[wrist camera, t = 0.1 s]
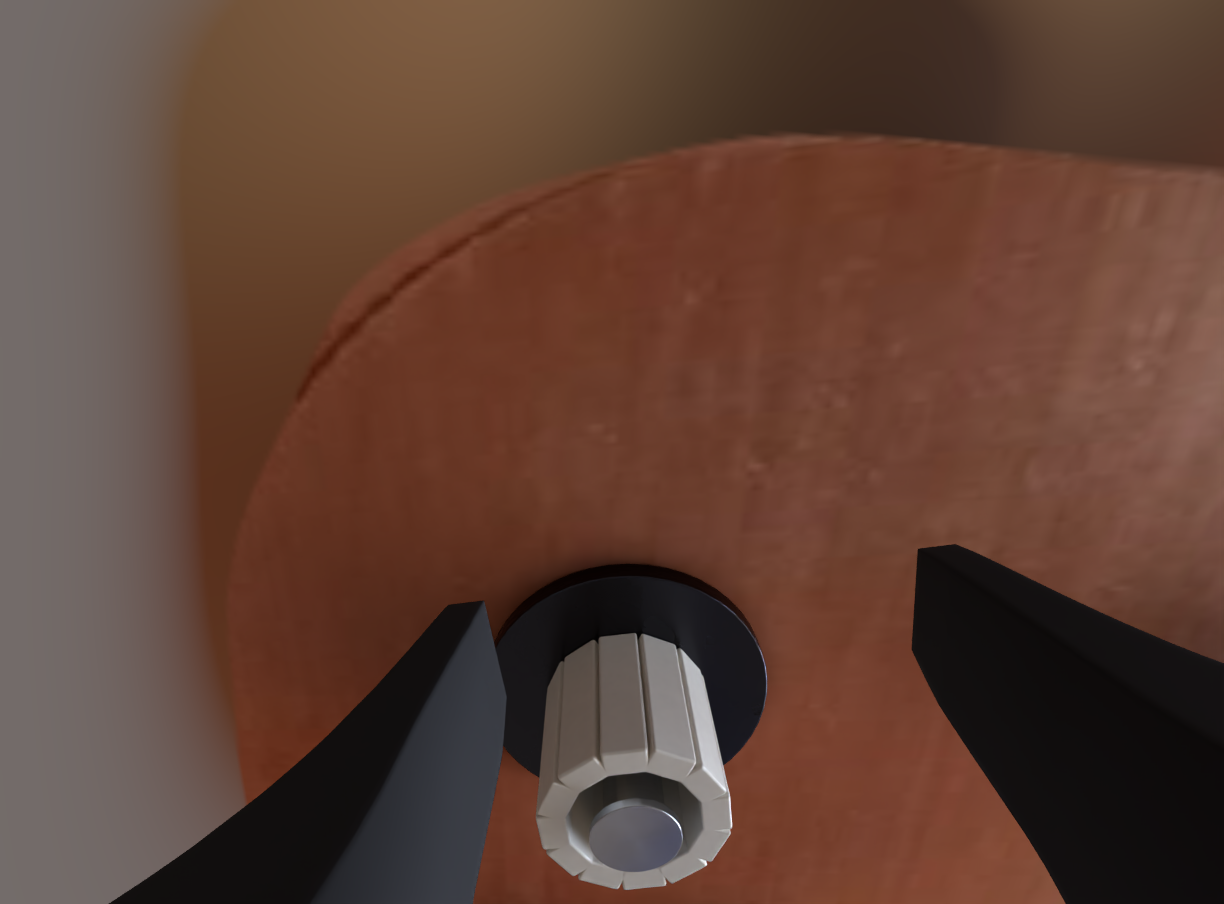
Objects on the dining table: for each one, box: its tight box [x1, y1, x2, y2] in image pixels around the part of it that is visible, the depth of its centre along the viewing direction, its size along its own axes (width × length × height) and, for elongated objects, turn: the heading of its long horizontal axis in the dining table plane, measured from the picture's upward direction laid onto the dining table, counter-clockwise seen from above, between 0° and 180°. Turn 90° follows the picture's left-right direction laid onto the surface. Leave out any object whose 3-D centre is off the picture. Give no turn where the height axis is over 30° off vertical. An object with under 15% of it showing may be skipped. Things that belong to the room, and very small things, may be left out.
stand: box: [494, 564, 767, 872], centre depth 21 cm, size 10×10×6 cm
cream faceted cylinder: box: [536, 633, 732, 890], centre depth 21 cm, size 6×6×5 cm
